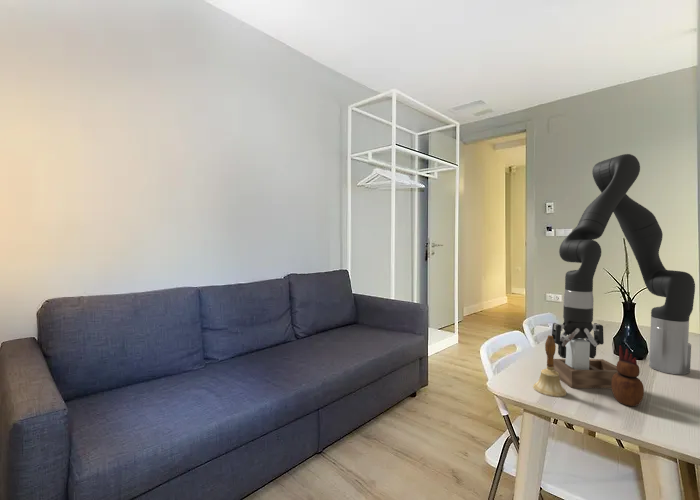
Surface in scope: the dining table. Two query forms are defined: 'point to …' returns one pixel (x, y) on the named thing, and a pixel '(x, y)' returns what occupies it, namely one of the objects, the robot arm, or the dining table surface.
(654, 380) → the dining table surface
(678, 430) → the dining table surface
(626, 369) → the wooden figurine
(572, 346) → the skincare box
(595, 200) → the robot arm
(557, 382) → the hand bell
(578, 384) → the walnut rail
